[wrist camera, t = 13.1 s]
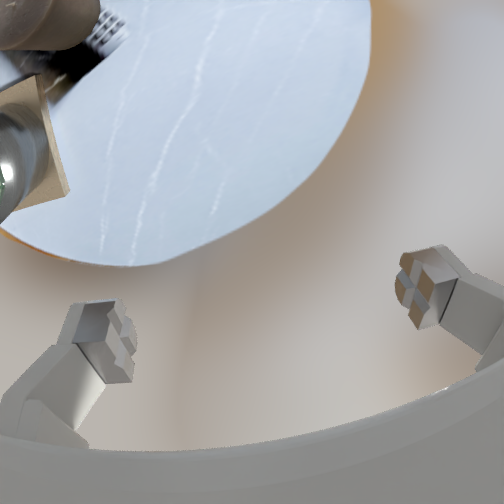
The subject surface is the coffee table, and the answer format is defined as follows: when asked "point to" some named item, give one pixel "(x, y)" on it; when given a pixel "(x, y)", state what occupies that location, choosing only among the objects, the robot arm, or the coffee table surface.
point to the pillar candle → (46, 23)
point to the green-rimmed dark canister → (28, 149)
